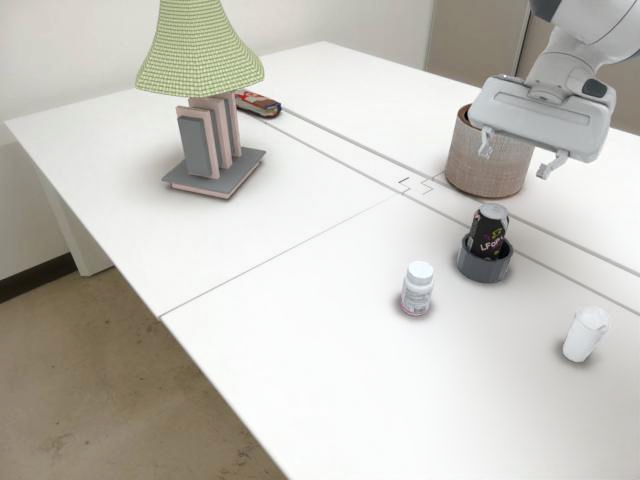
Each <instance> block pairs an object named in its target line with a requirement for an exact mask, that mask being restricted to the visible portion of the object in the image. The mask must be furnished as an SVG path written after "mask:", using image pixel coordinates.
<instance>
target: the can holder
mask: <svg viewBox="0 0 640 480" xmlns="http://www.w3.org/2000/svg"><path fill="white" fill-rule="evenodd" d="M469 233H470V232H467V233H466V234H464V236H463V237H462V239H461V241H460V246H459V250H458V253H457V257H456V266H457V268H458V270H459V272H460V273H461V274H462V275H464V276H465V277H466V278H468V279H470V280H472V281H475V282H478V283H482V284H493V283H497V282H500V281H501V280H503V279H504V278H505V276H506V275H507V272H508V270H509V267H510V263H511V262H512V260H513V259H512V258H513V256H514V253H515V252H514V245H512V243H511V242H510V241H509V240H508V239H507V238H506V237H504V239H503V242H502V246H501V249H500V252H499V255H498V258H497V260H488V259H483V258H480V257H478V256H476V255H474V254H473V253H471V252H470V251H469V250H468V248H467V247H466V244H467V240H468V237H469Z"/></svg>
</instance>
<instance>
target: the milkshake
mask: <svg viewBox="0 0 640 480" xmlns="http://www.w3.org/2000/svg"><path fill="white" fill-rule="evenodd" d="M612 327H613V321H612V318H611V316H610V314H609V313H608V312H607V311H606V310H605V309H603V308H601V307H600V306H596V305H590V304H589V305H583V306H580V307H578V308H577V309H576V311H575V315H574V318H573V320H572V323H571V326H570V329H569V330H568V334H567V336H566V338H565V340H564V343H563V345H562V349H561V350H562V354H563V355H564V357H565V358H566V359H567V360H569V361H571V362H574V363H583V362H584V361H585V360H586V359H587V358H588V357H589V355H590V353H592V351H593V350H594V349H595V347H596V346H597V344H598V343H599V342H600V341H601V340H602V339H603V337H604V336H605V335H606V334H607V333H608V332H609V330H610V329H611V328H612Z"/></svg>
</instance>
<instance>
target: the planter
mask: <svg viewBox="0 0 640 480" xmlns="http://www.w3.org/2000/svg"><path fill="white" fill-rule="evenodd" d="M472 104H473V102H471V103H468V104H465V105H463V106H461V107H460V108H459V109H458V111H457V113H456V117H455V123H454V127H453V132H452V137H451V141H450V146H449V149H448V155H447V160H446V163H445V170H444V171H445V177H446V179H447V180H448V181H449V182H450V183H451V184H452V186H454V187H455V188H457V189H459V190H460V191H462V192H464V193H467V194H469V195H472V196H477V197H481V198H489V199H492V198H493V199H495V198H497V199H498V198H503V197H509V196H511V195H514V194H516V193H517V192H519V191H520V190H521V189H522V187H523V185H524V183H525V181H526V177H527V174H528V171H529V167H530V164H531V161H532V159H533V156H534V152H535V149H536V147H535V146H532V145H529V144H526V143H523V142H519V141H516V140H513V139H510V138H507V137H504V136H501V135H498V134H494V135H493V137H492V138H491V139H490V138H489V137H488V145H489V146H491V147H492V150H493V151H492V153H491V154H490V155H489V158H488V159H485V158H482V157H479V156H478V151H479V149H480V147H481V145H482V133H481V131H482V129H479V128H476V127H473V126H472V125H471V123H470V121H469V118H468V110H469V108H470V107H471V105H472Z"/></svg>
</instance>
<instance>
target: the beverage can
mask: <svg viewBox="0 0 640 480" xmlns="http://www.w3.org/2000/svg"><path fill="white" fill-rule="evenodd" d="M509 217H510V216H509V210H508V209H507V208H506V207H505V206H504V205H503V204H502V205H501V204H500V203H496V202H485V203H482V204H481V205H480V207H479V208H478V209H477V210H476V211H475V212H474V214H473V218H472V222H471V225H470V229H469V232H468V233H469V237H468V240H467V244H466V247H467V248H468V250H469V251H470V252H471V253H473V254H474V255H476V256H478V257H480V258H483V259H488V260H497V258H498V255H499V252H500V249H501V246H502V242H503V239H504V238H505V236H506V233H507V230H508V227H509V225H510V218H509Z"/></svg>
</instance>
